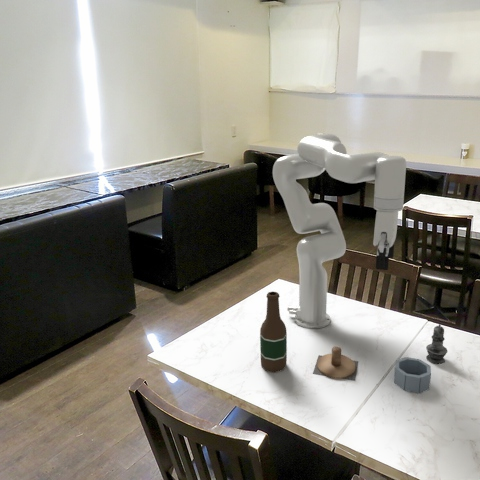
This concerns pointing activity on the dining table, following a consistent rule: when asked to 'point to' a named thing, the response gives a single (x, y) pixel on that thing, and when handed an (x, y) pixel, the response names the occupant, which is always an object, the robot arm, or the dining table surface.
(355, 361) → the mat
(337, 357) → the lid
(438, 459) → the dining table surface
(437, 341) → the ornate incense burner
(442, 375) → the dining table surface
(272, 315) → the beer bottle
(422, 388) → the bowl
